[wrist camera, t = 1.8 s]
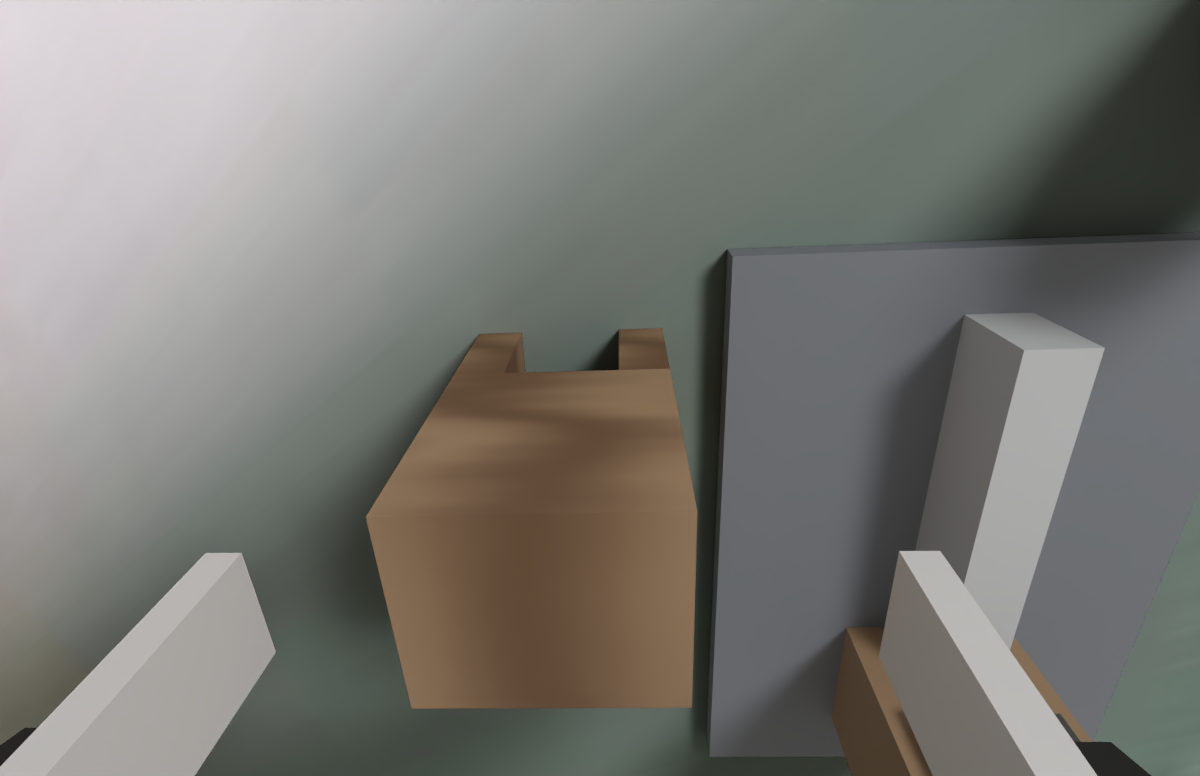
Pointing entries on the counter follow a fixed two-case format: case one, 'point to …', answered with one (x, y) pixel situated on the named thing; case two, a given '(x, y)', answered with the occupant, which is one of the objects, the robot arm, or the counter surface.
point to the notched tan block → (544, 537)
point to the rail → (873, 449)
